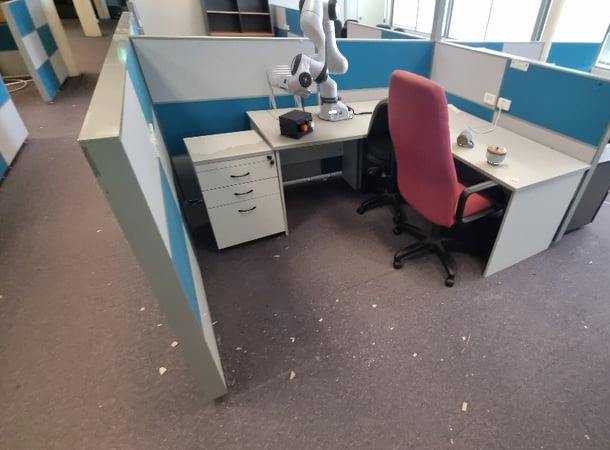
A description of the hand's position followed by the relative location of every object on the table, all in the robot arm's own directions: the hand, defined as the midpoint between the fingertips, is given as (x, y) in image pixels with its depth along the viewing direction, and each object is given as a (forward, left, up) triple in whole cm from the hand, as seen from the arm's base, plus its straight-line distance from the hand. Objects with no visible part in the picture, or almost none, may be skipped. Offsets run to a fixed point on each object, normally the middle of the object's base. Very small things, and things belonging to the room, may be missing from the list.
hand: (287, 90), depth 186 cm
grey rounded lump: (-95, +50, -24) cm, 110 cm away
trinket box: (-95, +76, -24) cm, 124 cm away
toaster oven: (-4, +2, -24) cm, 25 cm away
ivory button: (-11, +6, -20) cm, 24 cm away
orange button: (-6, +10, -20) cm, 23 cm away
